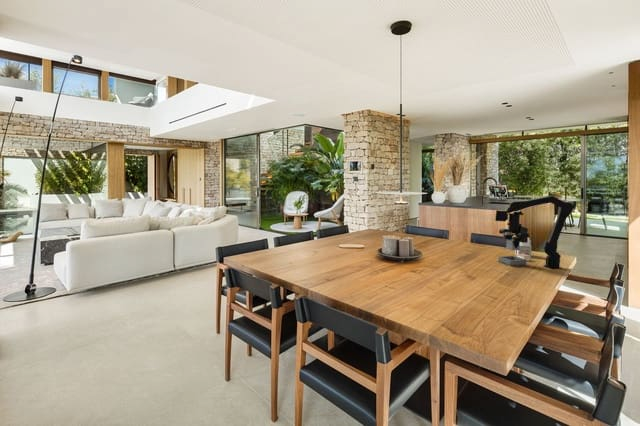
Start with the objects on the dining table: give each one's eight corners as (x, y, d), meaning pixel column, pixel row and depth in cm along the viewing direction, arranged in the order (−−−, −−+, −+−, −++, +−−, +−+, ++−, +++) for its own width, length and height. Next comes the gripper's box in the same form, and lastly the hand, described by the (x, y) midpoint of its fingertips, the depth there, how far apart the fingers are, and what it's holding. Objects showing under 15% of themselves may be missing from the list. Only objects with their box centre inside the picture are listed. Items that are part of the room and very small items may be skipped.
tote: (526, 265, 198) (526, 259, 198) (510, 266, 196) (510, 260, 196) (513, 261, 208) (513, 255, 208) (498, 261, 207) (498, 256, 207)
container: (518, 256, 221) (519, 237, 220) (514, 253, 228) (515, 235, 227) (531, 257, 219) (532, 237, 217) (527, 254, 226) (528, 235, 225)
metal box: (519, 250, 199) (519, 240, 199) (512, 250, 199) (512, 240, 198) (513, 248, 204) (513, 238, 204) (506, 248, 204) (506, 239, 203)
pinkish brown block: (530, 261, 209) (530, 255, 209) (523, 261, 208) (524, 256, 208) (522, 258, 215) (523, 253, 214) (516, 259, 214) (517, 253, 214)
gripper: (538, 223, 192) (536, 249, 193) (514, 219, 210) (513, 243, 212) (521, 224, 190) (519, 250, 192) (499, 220, 208) (497, 244, 210)
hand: (512, 246), depth 201 cm, fingers closed on metal box, 5 cm apart
